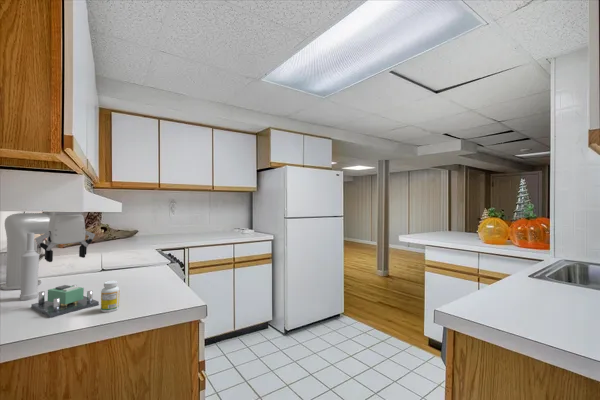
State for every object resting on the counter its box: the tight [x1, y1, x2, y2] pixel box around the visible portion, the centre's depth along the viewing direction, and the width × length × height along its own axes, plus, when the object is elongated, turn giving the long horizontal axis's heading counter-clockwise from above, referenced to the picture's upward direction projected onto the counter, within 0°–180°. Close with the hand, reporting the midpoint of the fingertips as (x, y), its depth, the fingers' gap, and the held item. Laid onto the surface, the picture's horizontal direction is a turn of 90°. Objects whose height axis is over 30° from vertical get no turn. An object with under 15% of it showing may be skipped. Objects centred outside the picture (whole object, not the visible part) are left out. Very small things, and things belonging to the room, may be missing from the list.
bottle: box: [19, 233, 40, 301], centre depth 110 cm, size 5×5×25 cm
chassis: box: [30, 284, 100, 319], centre depth 102 cm, size 16×14×5 cm
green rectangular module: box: [47, 284, 85, 304], centre depth 102 cm, size 9×6×5 cm, turn 72°
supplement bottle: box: [100, 280, 120, 313], centre depth 100 cm, size 5×5×10 cm
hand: (66, 259), depth 103 cm, fingers open, 9 cm apart
